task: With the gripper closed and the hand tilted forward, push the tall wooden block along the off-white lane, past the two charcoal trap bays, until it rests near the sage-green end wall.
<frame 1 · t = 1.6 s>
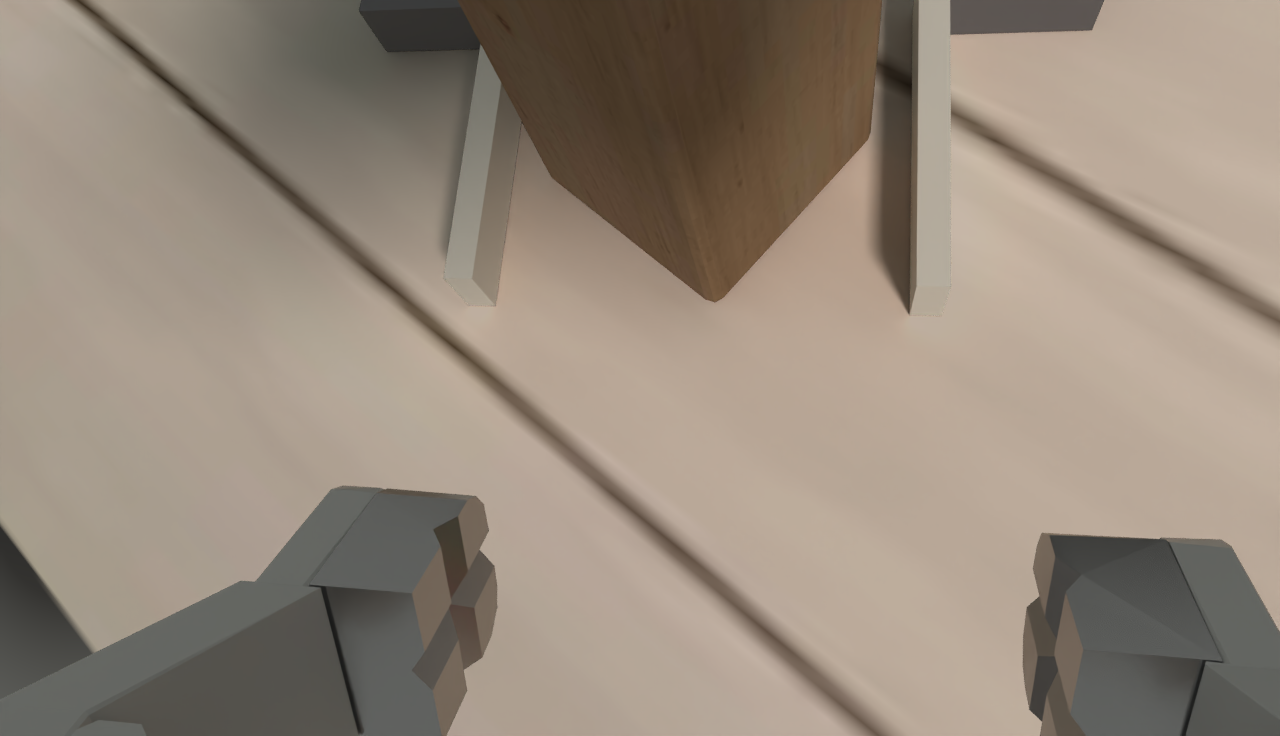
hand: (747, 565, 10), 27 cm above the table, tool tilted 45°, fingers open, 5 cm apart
wooden block: (707, 159, 42), on the table
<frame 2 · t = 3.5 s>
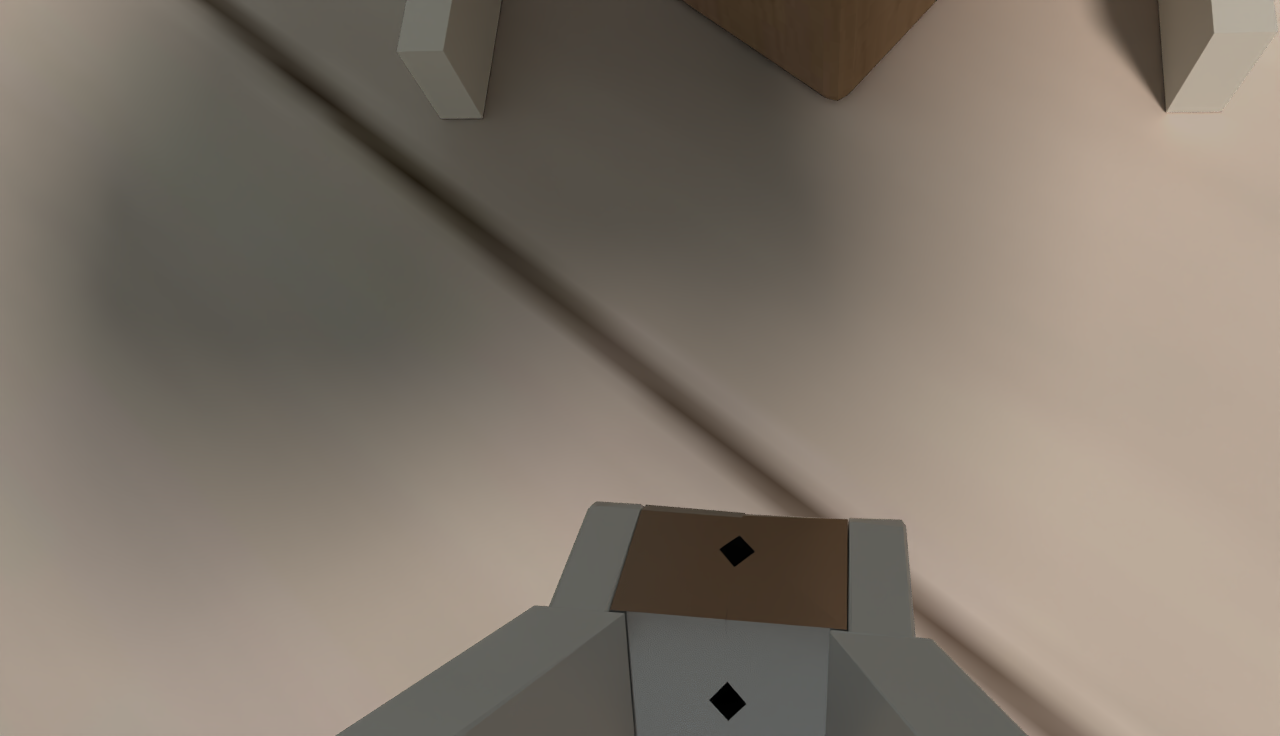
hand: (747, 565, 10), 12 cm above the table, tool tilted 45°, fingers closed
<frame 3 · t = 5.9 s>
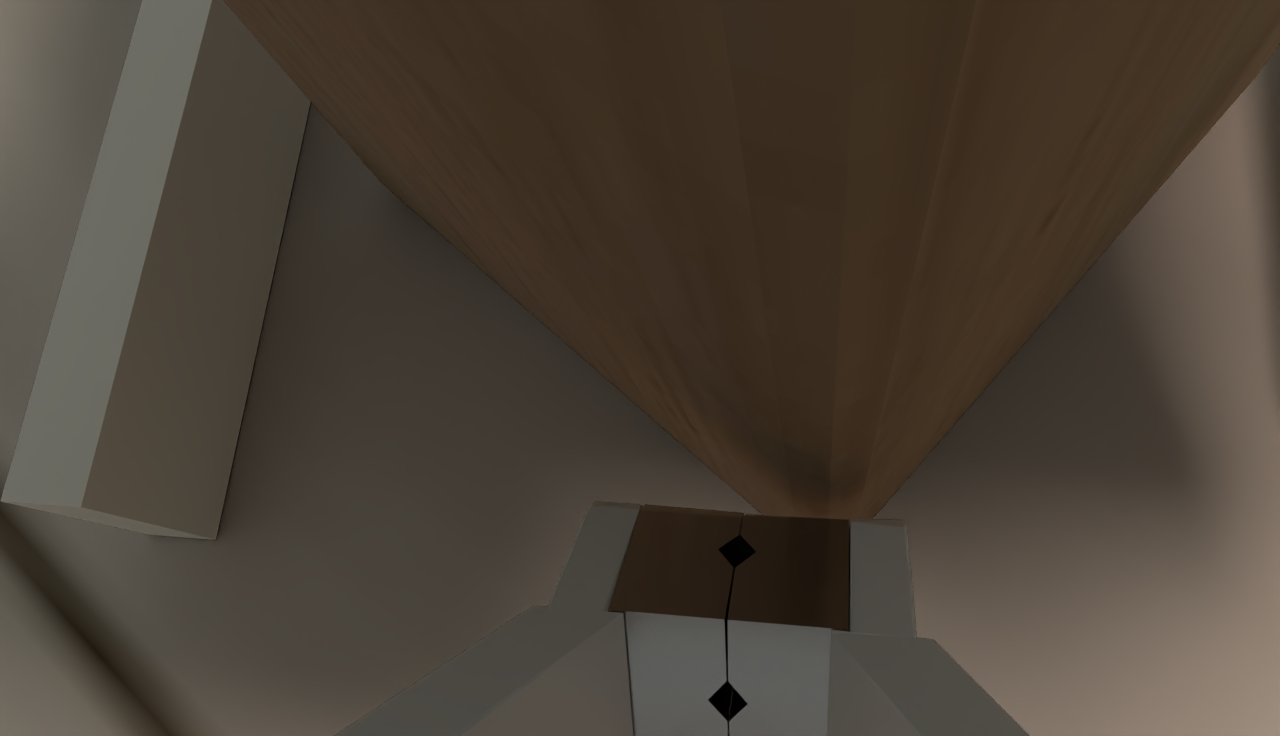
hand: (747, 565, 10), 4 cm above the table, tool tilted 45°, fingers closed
wooden block: (787, 136, 16), on the table, touching gripper
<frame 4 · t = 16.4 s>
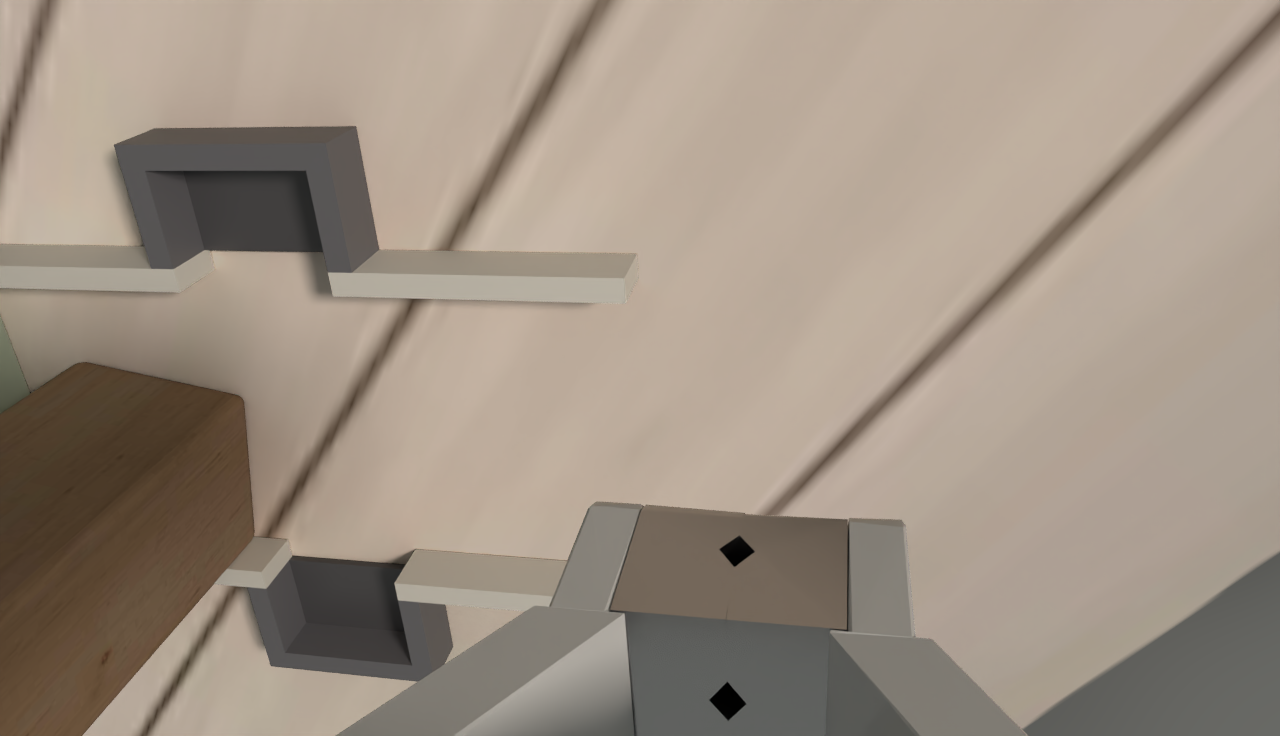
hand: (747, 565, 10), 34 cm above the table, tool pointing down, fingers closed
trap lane: (321, 417, 53), on the table
wooden block: (173, 448, 57), on the table
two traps: (321, 417, 53), on the table
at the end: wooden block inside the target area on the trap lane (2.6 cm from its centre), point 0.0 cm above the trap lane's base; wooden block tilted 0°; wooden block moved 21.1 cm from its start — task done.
